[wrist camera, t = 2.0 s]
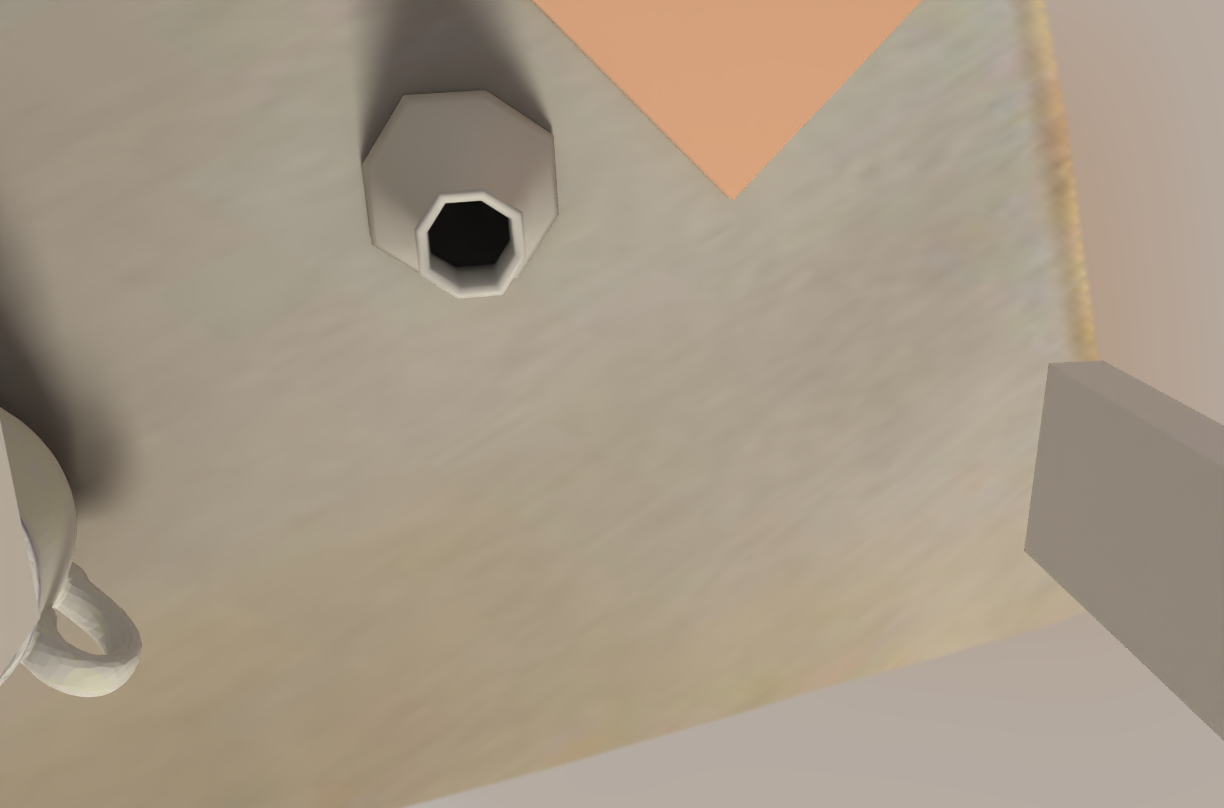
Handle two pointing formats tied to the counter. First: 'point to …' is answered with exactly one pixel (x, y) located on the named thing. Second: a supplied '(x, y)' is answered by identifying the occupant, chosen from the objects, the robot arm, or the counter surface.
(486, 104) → the flask
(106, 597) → the teacup
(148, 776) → the counter surface
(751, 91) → the coaster
